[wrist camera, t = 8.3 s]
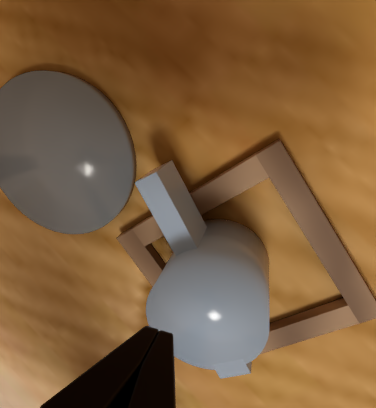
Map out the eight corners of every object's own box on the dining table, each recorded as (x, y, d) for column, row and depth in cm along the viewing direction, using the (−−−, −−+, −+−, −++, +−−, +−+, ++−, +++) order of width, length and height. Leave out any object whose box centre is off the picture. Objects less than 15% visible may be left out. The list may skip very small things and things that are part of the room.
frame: (215, 359, 24) (213, 368, 23) (121, 233, 22) (116, 238, 21) (379, 307, 19) (384, 315, 19) (279, 138, 17) (279, 140, 17)
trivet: (61, 251, 24) (55, 257, 23) (-33, 133, 22) (-43, 135, 22) (168, 184, 20) (164, 187, 19) (63, 31, 18) (54, 28, 17)
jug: (287, 292, 21) (293, 365, 15) (204, 314, 23) (184, 384, 18) (212, 138, 18) (189, 160, 13) (128, 180, 21) (78, 213, 15)
